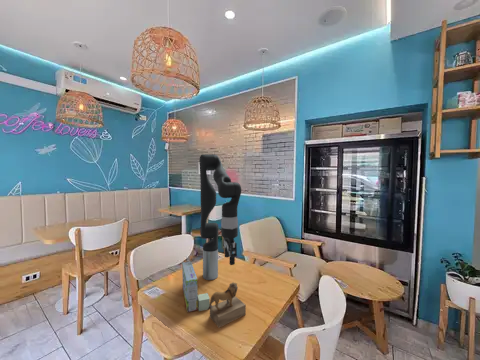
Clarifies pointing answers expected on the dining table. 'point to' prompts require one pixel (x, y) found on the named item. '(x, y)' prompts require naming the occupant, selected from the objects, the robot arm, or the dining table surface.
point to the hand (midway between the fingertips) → (229, 260)
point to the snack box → (190, 286)
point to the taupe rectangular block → (227, 312)
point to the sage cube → (203, 301)
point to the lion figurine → (224, 296)
